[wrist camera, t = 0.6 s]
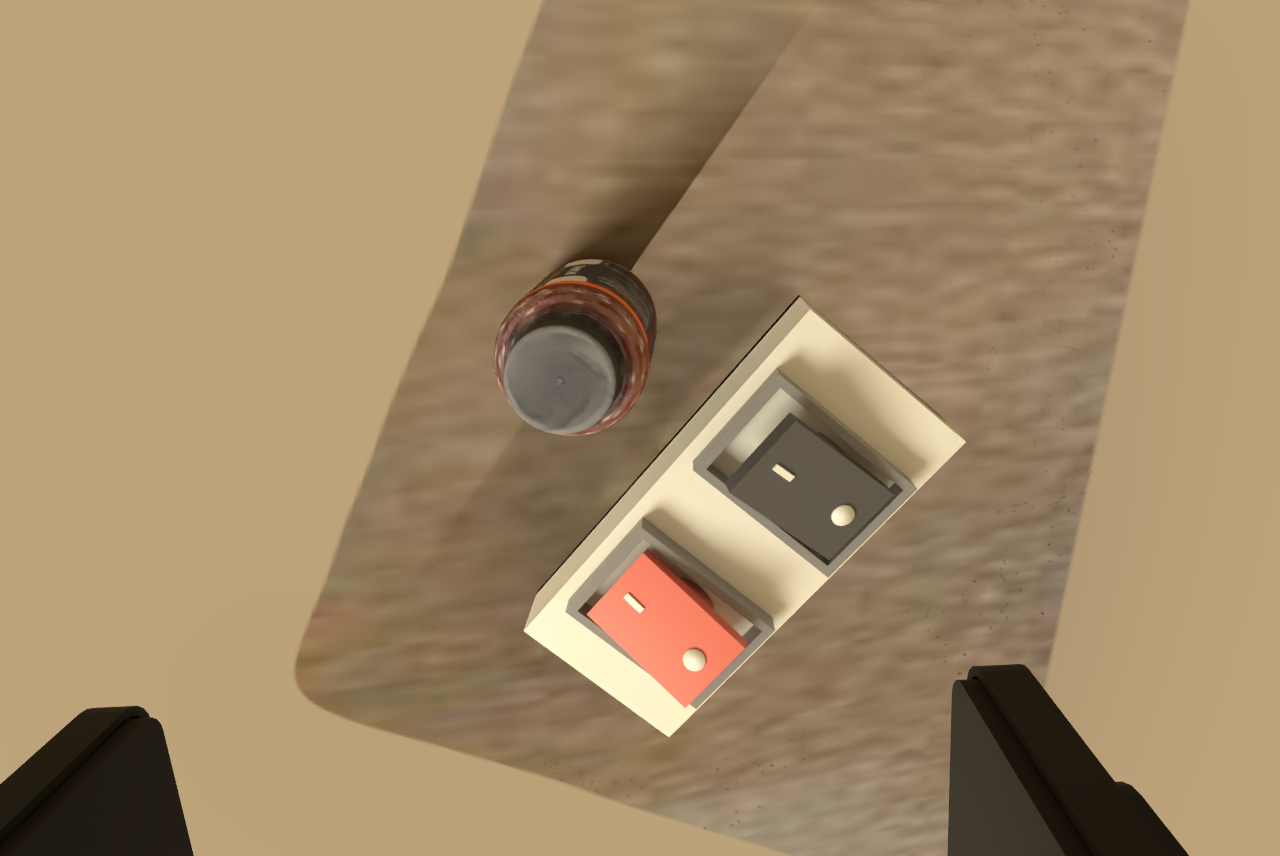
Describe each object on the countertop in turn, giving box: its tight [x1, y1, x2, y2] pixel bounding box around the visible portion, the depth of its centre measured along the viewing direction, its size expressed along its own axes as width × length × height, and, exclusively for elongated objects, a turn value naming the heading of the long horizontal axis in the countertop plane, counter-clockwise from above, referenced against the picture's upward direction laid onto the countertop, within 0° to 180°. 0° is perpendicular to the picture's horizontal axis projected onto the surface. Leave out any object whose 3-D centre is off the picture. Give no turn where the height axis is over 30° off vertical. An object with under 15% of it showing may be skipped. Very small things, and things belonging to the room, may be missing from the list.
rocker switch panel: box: [524, 295, 966, 737], centre depth 41 cm, size 20×9×5 cm, turn 141°
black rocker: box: [725, 413, 894, 560], centre depth 37 cm, size 4×6×2 cm, turn 51°
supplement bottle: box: [494, 259, 657, 436], centre depth 35 cm, size 6×6×11 cm
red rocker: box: [587, 548, 747, 708], centre depth 39 cm, size 4×6×2 cm, turn 51°
